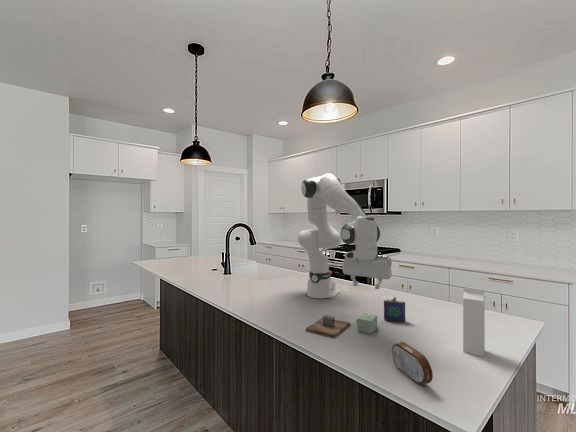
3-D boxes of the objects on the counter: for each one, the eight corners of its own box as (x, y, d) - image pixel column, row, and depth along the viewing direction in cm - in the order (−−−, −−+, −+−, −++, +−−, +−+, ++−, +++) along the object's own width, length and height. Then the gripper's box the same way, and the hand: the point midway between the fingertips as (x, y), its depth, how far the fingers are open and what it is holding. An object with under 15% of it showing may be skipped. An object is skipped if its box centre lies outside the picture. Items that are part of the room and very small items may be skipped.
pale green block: (356, 330, 123) (356, 317, 123) (363, 324, 130) (363, 312, 130) (371, 333, 120) (371, 320, 120) (377, 327, 126) (377, 314, 126)
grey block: (325, 325, 128) (325, 315, 128) (334, 328, 126) (334, 317, 126) (322, 327, 126) (322, 316, 126) (332, 330, 124) (332, 318, 124)
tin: (433, 389, 82) (433, 359, 82) (424, 391, 81) (424, 360, 81) (398, 363, 96) (398, 337, 96) (390, 364, 95) (390, 338, 95)
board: (323, 319, 136) (323, 316, 136) (350, 325, 129) (350, 322, 129) (305, 330, 123) (305, 327, 123) (334, 338, 116) (334, 335, 116)
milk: (465, 346, 108) (464, 285, 108) (485, 350, 105) (484, 287, 105) (463, 352, 103) (462, 289, 103) (483, 357, 100) (483, 291, 100)
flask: (405, 320, 134) (405, 296, 134) (405, 322, 131) (405, 298, 131) (383, 318, 137) (383, 295, 136) (384, 321, 134) (383, 297, 134)
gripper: (393, 255, 121) (393, 289, 121) (346, 251, 133) (347, 282, 133) (389, 257, 116) (389, 292, 116) (340, 253, 127) (341, 285, 127)
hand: (366, 287), depth 124 cm, fingers open, 8 cm apart
